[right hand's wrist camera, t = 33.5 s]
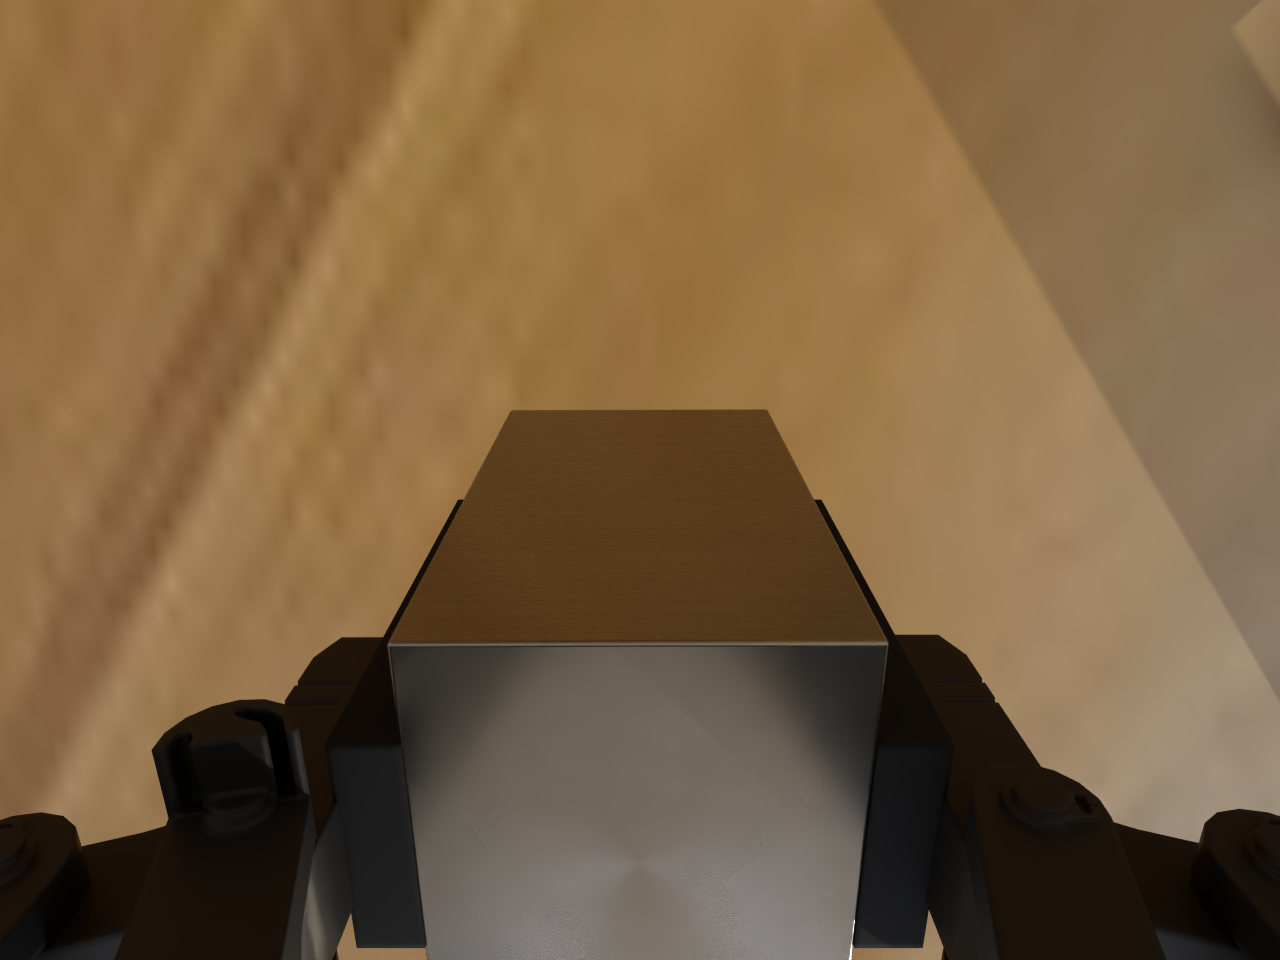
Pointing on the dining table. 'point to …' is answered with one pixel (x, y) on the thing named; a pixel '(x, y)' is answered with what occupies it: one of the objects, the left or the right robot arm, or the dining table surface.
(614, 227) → the dining table surface
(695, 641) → the brick
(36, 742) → the dining table surface
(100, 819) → the dining table surface
